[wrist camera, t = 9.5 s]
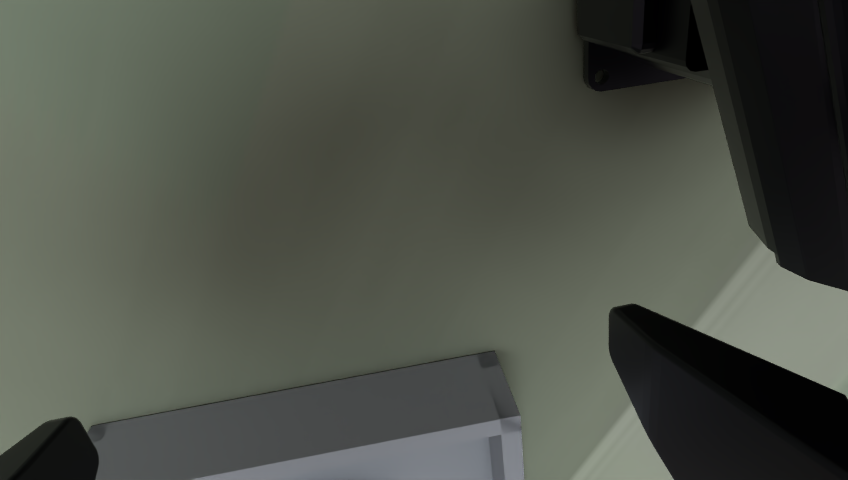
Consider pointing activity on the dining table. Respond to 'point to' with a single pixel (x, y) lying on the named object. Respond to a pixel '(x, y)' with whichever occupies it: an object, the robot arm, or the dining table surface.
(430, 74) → the dining table surface
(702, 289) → the dining table surface
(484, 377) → the tote
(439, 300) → the dining table surface
